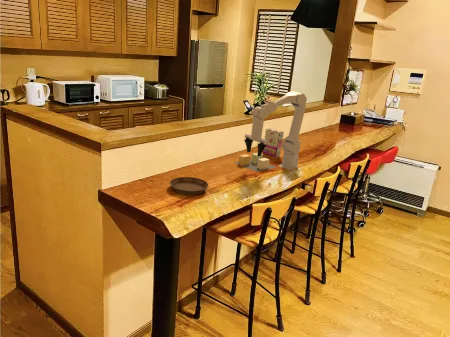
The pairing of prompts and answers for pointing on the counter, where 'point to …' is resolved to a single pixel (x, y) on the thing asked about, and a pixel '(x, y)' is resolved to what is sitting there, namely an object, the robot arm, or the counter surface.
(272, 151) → the candy bar box
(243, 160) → the mustard block
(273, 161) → the counter surface
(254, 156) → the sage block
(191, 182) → the plant saucer
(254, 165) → the rubber mat
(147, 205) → the counter surface
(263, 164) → the cream block
